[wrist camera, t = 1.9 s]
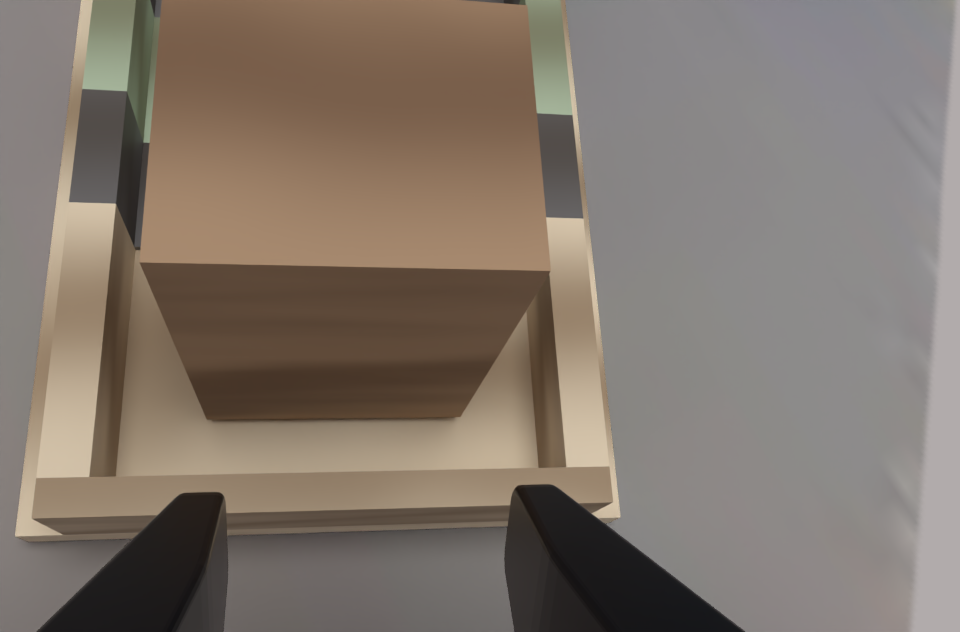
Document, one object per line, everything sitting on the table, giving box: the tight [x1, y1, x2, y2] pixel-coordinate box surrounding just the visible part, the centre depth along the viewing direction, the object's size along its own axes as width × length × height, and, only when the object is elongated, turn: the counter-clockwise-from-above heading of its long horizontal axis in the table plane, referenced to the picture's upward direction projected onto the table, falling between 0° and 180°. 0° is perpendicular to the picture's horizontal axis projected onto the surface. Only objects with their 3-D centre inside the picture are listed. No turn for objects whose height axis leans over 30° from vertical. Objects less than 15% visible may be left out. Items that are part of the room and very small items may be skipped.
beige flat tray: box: [15, 0, 620, 542], centre depth 24 cm, size 21×14×4 cm, turn 3°
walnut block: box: [139, 0, 551, 420], centre depth 18 cm, size 5×6×9 cm
